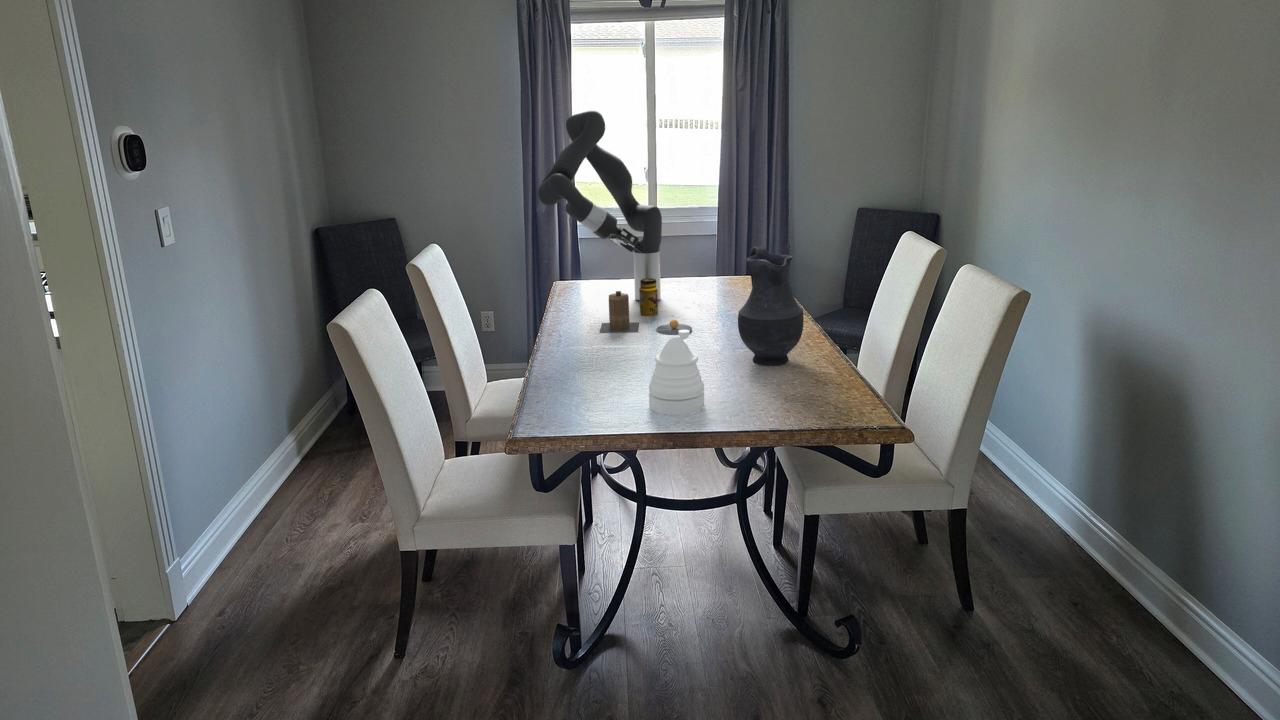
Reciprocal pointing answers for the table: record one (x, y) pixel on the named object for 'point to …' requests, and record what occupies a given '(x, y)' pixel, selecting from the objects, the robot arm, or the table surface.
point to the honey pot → (676, 379)
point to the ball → (674, 324)
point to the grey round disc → (668, 330)
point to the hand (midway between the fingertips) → (638, 249)
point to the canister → (619, 311)
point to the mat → (606, 329)
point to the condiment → (648, 297)
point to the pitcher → (770, 310)
